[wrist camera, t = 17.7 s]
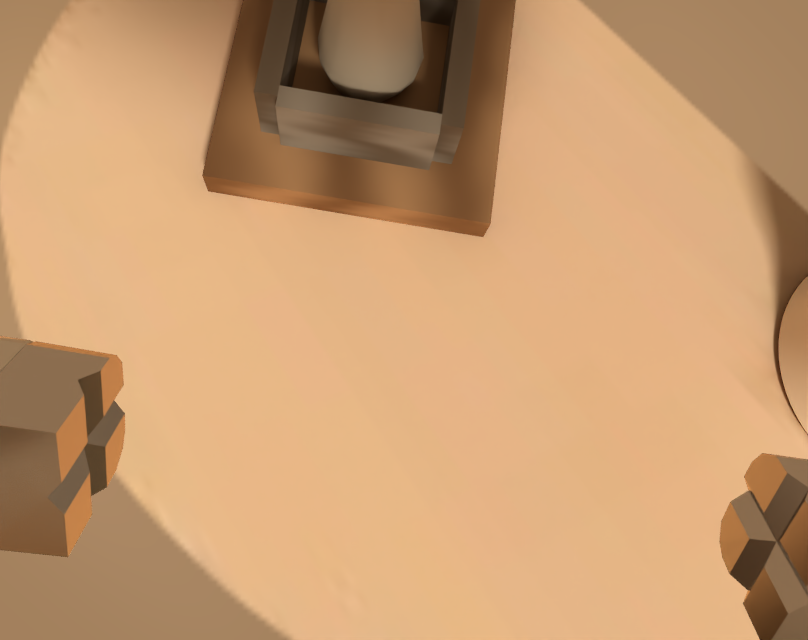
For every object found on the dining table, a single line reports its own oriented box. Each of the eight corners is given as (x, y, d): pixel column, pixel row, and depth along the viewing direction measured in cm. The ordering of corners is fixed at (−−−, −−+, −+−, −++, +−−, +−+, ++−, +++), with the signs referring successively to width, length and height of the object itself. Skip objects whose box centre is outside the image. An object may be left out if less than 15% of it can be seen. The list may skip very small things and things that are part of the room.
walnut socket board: (509, 6, 46) (535, -66, 40) (482, 236, 42) (507, 193, 36) (261, -40, 45) (250, -120, 39) (208, 190, 41) (188, 138, 35)
